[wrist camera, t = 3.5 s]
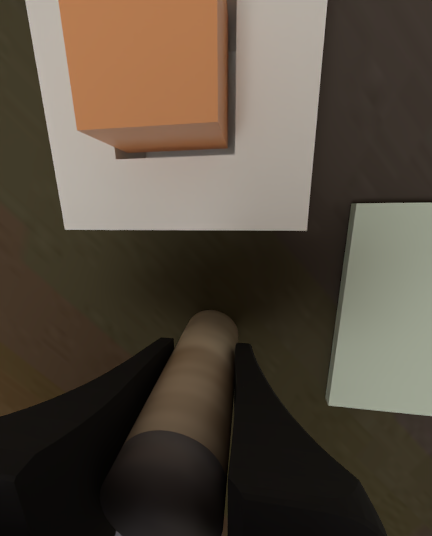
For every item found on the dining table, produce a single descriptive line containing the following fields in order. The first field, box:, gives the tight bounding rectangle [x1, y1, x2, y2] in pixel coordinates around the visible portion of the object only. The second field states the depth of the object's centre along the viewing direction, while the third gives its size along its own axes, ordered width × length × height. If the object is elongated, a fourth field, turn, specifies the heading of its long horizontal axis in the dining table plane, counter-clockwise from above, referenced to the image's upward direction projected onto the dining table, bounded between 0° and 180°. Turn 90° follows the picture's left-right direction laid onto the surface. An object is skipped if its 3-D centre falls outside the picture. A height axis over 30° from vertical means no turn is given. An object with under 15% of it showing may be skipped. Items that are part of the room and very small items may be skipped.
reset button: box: [58, 0, 228, 153], centre depth 7 cm, size 4×4×3 cm
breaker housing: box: [25, 0, 327, 231], centre depth 10 cm, size 10×10×4 cm
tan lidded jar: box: [100, 310, 238, 536], centre depth 9 cm, size 3×3×8 cm
